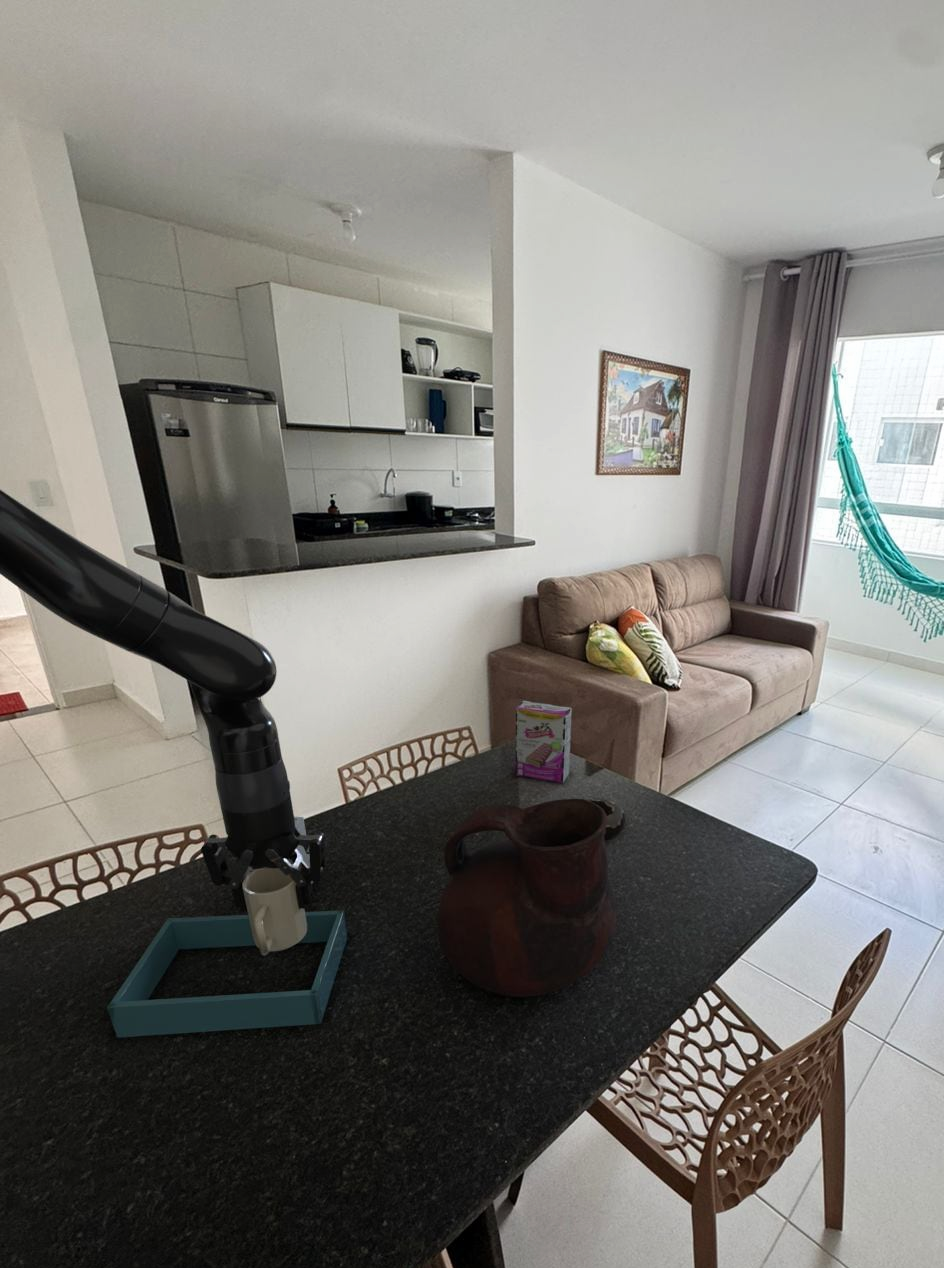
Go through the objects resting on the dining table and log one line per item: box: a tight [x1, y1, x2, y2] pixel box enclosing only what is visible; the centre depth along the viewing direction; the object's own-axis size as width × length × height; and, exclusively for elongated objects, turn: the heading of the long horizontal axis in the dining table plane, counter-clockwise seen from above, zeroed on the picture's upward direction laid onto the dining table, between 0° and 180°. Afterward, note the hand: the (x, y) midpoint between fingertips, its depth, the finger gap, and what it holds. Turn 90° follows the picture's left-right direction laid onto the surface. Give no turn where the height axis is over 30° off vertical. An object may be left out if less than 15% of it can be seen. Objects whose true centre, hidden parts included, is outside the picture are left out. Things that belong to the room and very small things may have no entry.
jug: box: [436, 798, 618, 998], centre depth 91 cm, size 25×25×25 cm
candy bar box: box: [515, 700, 573, 784], centre depth 142 cm, size 11×5×16 cm, turn 77°
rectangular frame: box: [106, 909, 348, 1039], centre depth 88 cm, size 24×16×5 cm, turn 97°
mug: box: [242, 867, 307, 956], centre depth 84 cm, size 9×6×9 cm
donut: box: [583, 797, 627, 841], centre depth 127 cm, size 12×12×4 cm
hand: (276, 905), depth 86 cm, fingers closed on mug, 6 cm apart
